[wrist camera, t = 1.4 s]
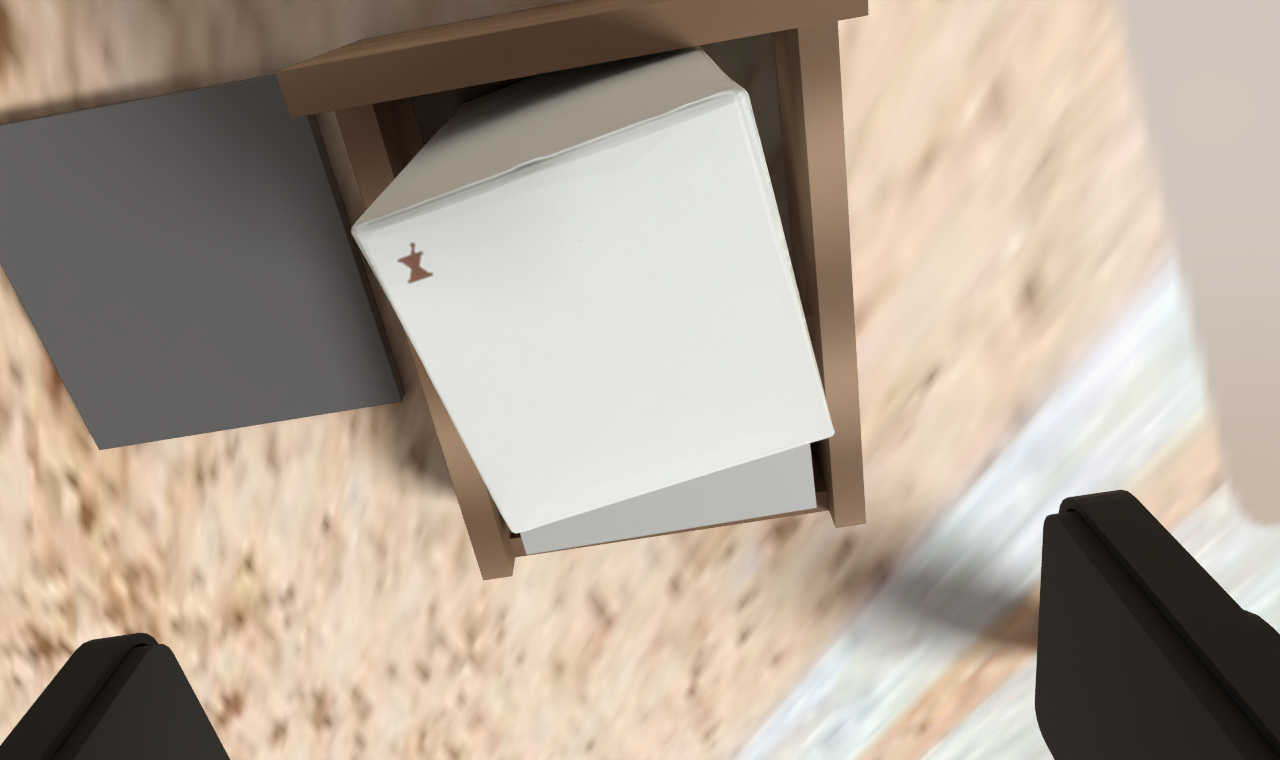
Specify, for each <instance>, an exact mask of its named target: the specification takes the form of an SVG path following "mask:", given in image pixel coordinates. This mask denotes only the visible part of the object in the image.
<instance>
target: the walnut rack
mask: <svg viewBox="0 0 1280 760" xmlns="http://www.w3.org/2000/svg"><path fill="white" fill-rule="evenodd" d="M867 15H868V0H577V1H572V2H566V3H561V4H555V5H550V6H544V7H539V8H533V9H528V10H522V11H517V12H512V13H506V14H501V15H495V16H490V17H484V18H479V19H473V20H468V21H462V22H457V23H451V24H446V25H440V26H435V27H429V28H424V29H419V30H413V31H408V32H402V33H397V34H391V35H386V36H380V37H375V38H369V39H364V40H359V41H356V42H354V43H351V44H348V45H346V46H343V47H341V48H338V49H335V50H333V51H330V52H327V53H325V54H322V55H319V56H317V57H314V58H312V59H309V60H306V61H304V62H301V63H298V64H296V65H293V66H290V67H288V68H285V69H283V70H280V71H277V72H276V75H277V78H278V81H279V84H280V87H281V90H282V93H283V96H284V99H285V102H286V105H287V108H288V111H289V114H290V117H291V118H296V117H301V116H307V115H313V114H318V113H324V112H329V111H335V113H336V117H337V120H338V123H339V126H340V129H341V132H342V136H343V139H344V142H345V145H346V148H347V151H348V154H349V158H350V161H351V164H352V167H353V170H354V173H355V177H356V180H357V183H358V186H359V189H360V192H361V196H362V199H363V202H364V205H365V208H366V210H367V209H368V208H369V207H370V206H371V204H372V203H373V202H374V201H375V200H376V199H377V198H378V197H379V196H380V195H381V193H382V192H383V191H384V190H385V189H386V188H387V187H388V186H389V185H390V184H391V183H392V181H393V180H394V179H395V178H396V177H397V176H398V175H399V174H400V172H401V171H402V170H403V169H404V168H405V167H406V166H407V165H408V164H409V163H410V161H411V160H412V159H413V158H414V157H415V156H416V155H417V153H418V152H419V151H420V150H421V149H422V148H423V147H424V146H423V142H422V138H421V135H420V131H419V127H418V124H417V120H416V117H415V113H414V109H413V106H412V102H411V98H410V97H413V96H419V95H425V94H430V93H436V92H441V91H447V90H453V89H458V88H464V87H469V86H475V85H481V84H486V83H492V82H497V81H503V80H508V79H514V78H520V77H525V76H531V75H536V74H542V73H548V72H553V71H559V70H564V69H570V68H576V67H581V66H587V65H592V64H598V63H604V62H609V61H615V60H620V59H626V58H632V57H637V56H643V55H648V54H654V53H660V52H665V51H671V50H676V49H682V48H687V47H693V46H699V45H704V44H710V43H715V42H721V41H727V40H732V39H738V38H743V37H749V36H755V35H760V34H766V33H771V32H773V34H774V46H775V57H776V68H777V80H778V91H779V102H780V114H781V125H782V136H783V148H784V159H785V170H786V182H787V193H788V204H789V216H790V227H791V238H792V250H793V261H794V272H795V280H796V284H797V288H798V292H799V296H800V300H801V304H802V308H803V312H804V316H805V320H806V324H807V328H808V332H809V336H810V340H811V344H812V348H813V352H814V355H815V359H816V363H817V367H818V371H819V375H820V378H821V382H822V386H823V390H824V394H825V398H826V402H827V406H828V410H829V414H830V418H831V421H832V425H833V428H834V431H835V433H834V435H833V436H831V437H829V438H826V439H822V440H819V441H815V442H812V443H810V449H811V458H812V468H813V477H814V487H815V496H816V506H817V508H812V509H806V510H800V511H794V512H787V513H781V514H775V515H769V516H763V517H757V518H750V519H744V520H738V521H732V522H726V523H720V524H714V525H707V526H701V527H695V528H689V529H683V530H677V531H670V532H664V533H658V534H652V535H646V536H640V537H634V538H627V539H621V540H615V541H609V542H603V543H597V544H591V545H584V546H578V547H572V548H566V549H560V550H567V549H574V548H580V547H587V546H594V545H600V544H607V543H614V542H620V541H627V540H634V539H640V538H647V537H654V536H661V535H667V534H674V533H681V532H687V531H694V530H701V529H707V528H714V527H721V526H727V525H734V524H741V523H747V522H754V521H761V520H767V519H774V518H781V517H787V516H794V515H801V514H807V513H814V512H821V511H827V510H829V511H830V514H831V516H832V519H833V522H834V524H835V527H836V528H838V527H845V526H852V525H858V524H865V523H866V517H865V499H864V481H863V464H862V446H861V428H860V410H859V393H858V375H857V357H856V339H855V322H854V304H853V286H852V268H851V251H850V233H849V215H848V197H847V180H846V162H845V144H844V126H843V109H842V91H841V73H840V55H839V38H838V21H839V20H844V19H850V18H855V17H861V16H867ZM404 331H405V330H404ZM405 335H406V338H407V341H408V344H409V347H410V350H411V353H412V357H413V360H414V363H415V366H416V369H417V372H418V376H419V379H420V382H421V385H422V388H423V391H424V395H425V398H426V401H427V404H428V407H429V410H430V413H431V417H432V420H433V423H434V426H435V429H436V432H437V436H438V439H439V442H440V445H441V448H442V451H443V455H444V458H445V461H446V464H447V467H448V470H449V474H450V477H451V480H452V483H453V486H454V489H455V492H456V496H457V499H458V502H459V505H460V508H461V511H462V515H463V518H464V521H465V524H466V527H467V530H468V534H469V537H470V540H471V543H472V546H473V549H474V552H475V556H476V559H477V562H478V565H479V568H480V571H481V575H482V578H483V580H489V579H495V578H502V577H509V576H512V574H513V568H514V561H515V557H520V556H527V554H526V551H525V548H524V544H523V541H522V538H521V534H520V533H517V534H516V533H513V532H511V530H510V529H509V527H508V526H507V524H506V522H505V520H504V519H503V517H502V515H501V513H500V511H499V509H498V508H497V506H496V504H495V502H494V500H493V498H492V497H491V494H490V492H489V490H488V488H487V486H486V485H485V483H484V481H483V479H482V477H481V475H480V473H479V471H478V469H477V467H476V465H475V463H474V461H473V459H472V458H471V456H470V454H469V452H468V450H467V448H466V446H465V444H464V442H463V441H462V439H461V437H460V435H459V433H458V431H457V429H456V427H455V425H454V423H453V421H452V419H451V417H450V416H449V414H448V412H447V410H446V408H445V406H444V404H443V402H442V400H441V398H440V396H439V394H438V392H437V391H436V389H435V387H434V385H433V383H432V381H431V379H430V377H429V375H428V373H427V371H426V369H425V367H424V365H423V363H422V361H421V359H420V357H419V355H418V354H417V352H416V350H415V348H414V346H413V344H412V343H411V341H410V339H409V337H408V335H407V333H406V332H405ZM560 550H554V551H560ZM554 551H547V552H554ZM547 552H541V553H547ZM535 554H540V553H535ZM529 555H534V554H529Z"/></svg>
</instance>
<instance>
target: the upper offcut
mask: <svg viewBox="0 0 1280 760" xmlns="http://www.w3.org/2000/svg"><path fill="white" fill-rule="evenodd" d="M812 508H817V506H816V496H815V487H814V477H813V468H812V458H811V449H810V443H809V444H805V445H802V446H799V447H796V448H793V449H789V450H786V451H783V452H780V453H776V454H773V455H770V456H766V457H763V458H760V459H756V460H753V461H750V462H746V463H743V464H740V465H736V466H733V467H730V468H727V469H724V470H720V471H717V472H714V473H711V474H707V475H704V476H701V477H698V478H694V479H691V480H688V481H685V482H681V483H678V484H675V485H672V486H669V487H665V488H662V489H659V490H656V491H652V492H649V493H646V494H643V495H639V496H636V497H633V498H630V499H626V500H623V501H620V502H617V503H613V504H610V505H607V506H604V507H601V508H597V509H594V510H591V511H588V512H584V513H581V514H578V515H575V516H572V517H569V518H565V519H562V520H559V521H556V522H553V523H549V524H546V525H543V526H540V527H537V528H534V529H531V530H528V531H525V532H521V533H520V534H521V538H522V541H523V544H524V548H525V551H526V554H527V555H529V554H535V553H541V552H547V551H554V550H560V549H566V548H572V547H578V546H584V545H591V544H597V543H603V542H609V541H615V540H621V539H627V538H634V537H640V536H646V535H652V534H658V533H664V532H670V531H677V530H683V529H689V528H695V527H701V526H707V525H714V524H720V523H726V522H732V521H738V520H744V519H750V518H757V517H763V516H769V515H775V514H781V513H787V512H794V511H800V510H806V509H812Z"/></svg>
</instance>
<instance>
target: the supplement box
mask: <svg viewBox="0 0 1280 760" xmlns="http://www.w3.org/2000/svg"><path fill="white" fill-rule="evenodd" d="M351 233H352V235H353V237H354V239H355V241H356V242H357V244H358V246H359V248H360V249H361V251H362V253H363V255H364V257H365V258H366V260H367V262H368V264H369V266H370V268H371V269H372V271H373V273H374V275H375V277H376V278H377V280H378V282H379V284H380V286H381V288H382V289H383V291H384V293H385V295H386V297H387V299H388V300H389V302H390V304H391V306H392V308H393V310H394V311H395V313H396V315H397V317H398V319H399V321H400V322H401V324H402V326H403V328H404V330H405V332H406V333H407V335H408V337H409V339H410V341H411V343H412V344H413V346H414V348H415V350H416V352H417V354H418V355H419V357H420V359H421V361H422V363H423V365H424V367H425V369H426V371H427V373H428V375H429V377H430V379H431V381H432V383H433V385H434V387H435V389H436V391H437V392H438V394H439V396H440V398H441V400H442V402H443V404H444V406H445V408H446V410H447V412H448V414H449V416H450V417H451V419H452V421H453V423H454V425H455V427H456V429H457V431H458V433H459V435H460V437H461V439H462V441H463V442H464V444H465V446H466V448H467V450H468V452H469V454H470V456H471V458H472V459H473V461H474V463H475V465H476V467H477V469H478V471H479V473H480V475H481V477H482V479H483V481H484V483H485V485H486V486H487V488H488V490H489V492H490V494H491V497H492V498H493V500H494V502H495V504H496V506H497V508H498V509H499V511H500V513H501V515H502V517H503V519H504V520H505V522H506V524H507V526H508V527H509V529H510V530H511V532H513V533H516V534H517V533H521V532H525V531H528V530H531V529H534V528H537V527H540V526H543V525H546V524H549V523H553V522H556V521H559V520H562V519H565V518H569V517H572V516H575V515H578V514H581V513H584V512H588V511H591V510H594V509H597V508H601V507H604V506H607V505H610V504H613V503H617V502H620V501H623V500H626V499H630V498H633V497H636V496H639V495H643V494H646V493H649V492H652V491H656V490H659V489H662V488H665V487H669V486H672V485H675V484H678V483H681V482H685V481H688V480H691V479H694V478H698V477H701V476H704V475H707V474H711V473H714V472H717V471H720V470H724V469H727V468H730V467H733V466H736V465H740V464H743V463H746V462H750V461H753V460H756V459H760V458H763V457H766V456H770V455H773V454H776V453H780V452H783V451H786V450H789V449H793V448H796V447H799V446H802V445H805V444H809V443H812V442H815V441H819V440H822V439H826V438H829V437H831V436H833V435H834V433H835V431H834V428H833V425H832V421H831V418H830V414H829V410H828V406H827V402H826V398H825V394H824V390H823V386H822V382H821V378H820V375H819V371H818V367H817V363H816V359H815V355H814V352H813V348H812V344H811V340H810V336H809V332H808V328H807V324H806V320H805V316H804V312H803V308H802V304H801V300H800V296H799V292H798V288H797V284H796V280H795V276H794V272H793V268H792V264H791V260H790V256H789V252H788V248H787V244H786V240H785V236H784V232H783V228H782V224H781V220H780V215H779V211H778V208H777V204H776V200H775V196H774V192H773V188H772V184H771V180H770V176H769V172H768V168H767V164H766V161H765V157H764V153H763V149H762V145H761V141H760V137H759V133H758V129H757V126H756V122H755V118H754V114H753V110H752V106H751V102H750V98H749V95H748V93H747V91H746V90H745V89H744V88H742V87H741V86H740V85H738V84H737V83H735V82H734V81H733V80H731V79H730V78H729V77H728V76H727V75H726V74H725V73H724V72H723V71H722V70H721V69H720V68H719V67H718V66H717V65H716V64H715V62H714V61H713V60H712V59H711V58H710V57H709V56H708V55H707V54H706V53H705V52H704V51H703V49H702V48H701V47H700V46H693V47H687V48H682V49H676V50H671V51H665V52H660V53H654V54H648V55H643V56H637V57H632V58H626V59H620V60H615V61H609V62H604V63H598V64H592V65H587V66H581V67H576V68H570V69H564V70H559V71H553V72H548V73H542V74H539V75H537V76H534V77H531V78H529V79H526V80H524V81H521V82H518V83H516V84H513V85H511V86H508V87H506V88H503V89H500V90H498V91H495V92H493V93H490V94H487V95H485V96H482V97H480V98H477V99H475V100H472V101H470V102H467V103H464V104H461V105H460V106H459V107H458V109H457V110H456V111H455V112H454V114H453V115H452V116H451V117H450V118H449V119H448V120H447V121H446V122H445V123H444V125H443V126H442V127H441V128H440V129H439V130H438V131H437V132H436V133H435V135H434V136H433V137H432V138H431V139H430V140H429V141H428V143H427V144H426V145H425V146H424V147H423V148H422V149H421V150H420V151H419V152H418V153H417V155H416V156H415V157H414V158H413V159H412V160H411V161H410V163H409V164H408V165H407V166H406V167H405V168H404V169H403V170H402V171H401V172H400V174H399V175H398V176H397V177H396V178H395V179H394V180H393V181H392V183H391V184H390V185H389V186H388V187H387V188H386V189H385V190H384V191H383V192H382V193H381V195H380V196H379V197H378V198H377V199H376V200H375V201H374V202H373V203H372V204H371V206H370V207H369V208H368V209H367V210H366V211H365V212H364V213H363V214H362V216H361V217H360V218H359V219H358V220H357V221H356V223H355V224H354V225H353V226H352V229H351Z"/></svg>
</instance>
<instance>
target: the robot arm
mask: <svg viewBox="0 0 1280 760" xmlns="http://www.w3.org/2000/svg"><path fill="white" fill-rule="evenodd" d="M1035 711H1036V717H1037V721H1038V725H1039V728H1040V731H1041V734H1042V736H1043V738H1044V740H1045V742H1046V744H1047V746H1048V748H1049V750H1050V752H1051V754H1052V755H1053V757H1054V759H1055V760H1280V634H1279V633H1278V632H1277V631H1276V630H1275V629H1274V628H1273V627H1272V626H1270V625H1269V624H1268V623H1267V622H1266V621H1264V620H1263V619H1262V618H1261V617H1259V616H1258V615H1256V614H1253V613H1251V612H1248V611H1246V610H1243V609H1242V608H1241V607H1240V606H1239V605H1238V604H1237V603H1236V602H1235V601H1234V600H1233V599H1232V598H1231V597H1230V596H1229V595H1228V593H1227V592H1226V591H1225V590H1224V589H1223V588H1222V587H1221V586H1220V585H1219V584H1218V583H1217V582H1216V581H1215V580H1214V579H1213V578H1212V577H1211V576H1210V575H1209V574H1208V573H1207V572H1206V570H1205V569H1204V568H1203V567H1202V566H1201V565H1200V564H1199V563H1198V562H1197V561H1196V560H1195V559H1194V558H1193V557H1192V556H1191V555H1190V554H1189V553H1188V552H1187V551H1186V550H1185V549H1184V548H1183V546H1182V545H1181V544H1180V543H1179V542H1178V541H1177V540H1176V539H1175V538H1174V537H1173V536H1172V535H1171V534H1170V533H1169V532H1168V531H1167V530H1166V529H1165V528H1164V527H1163V526H1162V525H1161V523H1160V522H1159V521H1158V520H1157V519H1156V518H1155V517H1154V516H1153V515H1152V514H1151V513H1150V512H1149V511H1148V510H1147V509H1146V508H1145V507H1144V506H1143V505H1142V504H1141V503H1140V502H1139V501H1138V499H1137V498H1136V497H1135V496H1133V495H1132V494H1131V493H1129V492H1128V491H1125V490H1116V491H1109V492H1102V493H1095V494H1088V495H1082V496H1075V497H1068V498H1066V499H1064V500H1063V501H1062V503H1061V505H1060V509H1059V513H1058V514H1052V515H1048V516H1047V517H1046V519H1045V521H1044V527H1043V546H1042V566H1041V587H1040V607H1039V627H1038V648H1037V668H1036V689H1035ZM0 760H230V759H229V757H228V755H227V753H226V751H225V749H224V747H223V745H222V744H221V742H220V740H219V738H218V736H217V734H216V732H215V730H214V729H213V727H212V725H211V723H210V721H209V719H208V717H207V715H206V714H205V712H204V710H203V708H202V706H201V704H200V702H199V700H198V699H197V697H196V695H195V693H194V691H193V689H192V687H191V685H190V684H189V682H188V680H187V678H186V676H185V674H184V672H183V670H182V669H181V667H180V665H179V663H178V661H177V659H176V657H175V655H174V654H173V652H172V651H171V649H170V648H169V647H167V646H166V645H164V644H158V643H157V641H156V640H155V639H154V638H153V637H152V636H150V635H148V634H147V633H136V634H129V635H122V636H115V637H108V638H101V639H94V640H90V641H88V642H86V643H83V644H82V645H81V646H80V647H79V648H78V649H77V650H76V651H75V652H74V653H73V655H72V656H71V657H70V658H69V660H68V661H67V662H66V663H65V665H64V666H63V667H62V668H61V670H60V671H59V672H58V674H57V675H56V676H55V677H54V679H53V680H52V681H51V682H50V684H49V685H48V686H47V687H46V689H45V690H44V691H43V692H42V694H41V695H40V696H39V698H38V699H37V700H36V701H35V703H34V704H33V705H32V706H31V708H30V709H29V710H28V711H27V713H26V714H25V715H24V716H23V718H22V719H21V720H20V722H19V723H18V724H17V725H16V727H15V728H14V729H13V730H12V732H11V733H10V734H9V735H8V737H7V738H6V739H5V740H4V742H3V743H2V744H1V746H0Z"/></svg>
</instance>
